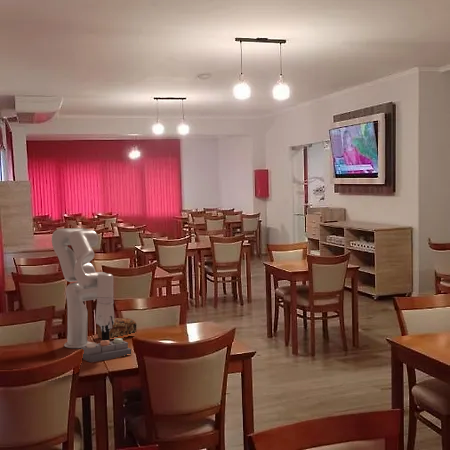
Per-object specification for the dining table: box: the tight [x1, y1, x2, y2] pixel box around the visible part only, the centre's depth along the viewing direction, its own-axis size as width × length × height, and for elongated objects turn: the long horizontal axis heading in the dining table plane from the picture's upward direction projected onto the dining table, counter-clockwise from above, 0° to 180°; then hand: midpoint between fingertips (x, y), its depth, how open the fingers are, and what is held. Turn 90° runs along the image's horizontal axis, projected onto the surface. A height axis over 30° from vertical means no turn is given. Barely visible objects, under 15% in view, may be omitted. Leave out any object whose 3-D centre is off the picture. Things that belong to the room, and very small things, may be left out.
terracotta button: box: [99, 339, 111, 346], centre depth 280 cm, size 4×4×3 cm
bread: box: [96, 317, 138, 340], centre depth 319 cm, size 19×11×10 cm, turn 130°
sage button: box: [113, 338, 124, 344], centre depth 284 cm, size 4×4×3 cm
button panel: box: [80, 340, 132, 363], centre depth 280 cm, size 12×21×6 cm, turn 130°
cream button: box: [87, 341, 97, 348], centre depth 275 cm, size 4×4×3 cm
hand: (105, 339), depth 279 cm, fingers closed
